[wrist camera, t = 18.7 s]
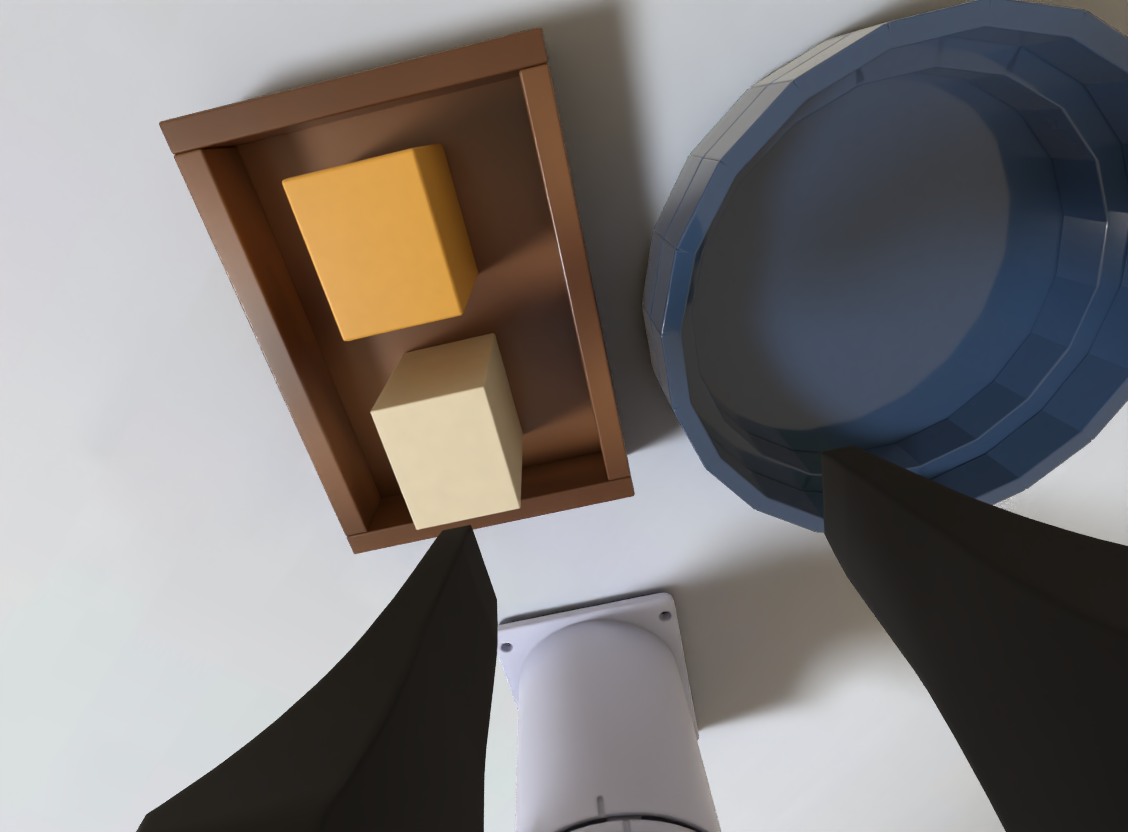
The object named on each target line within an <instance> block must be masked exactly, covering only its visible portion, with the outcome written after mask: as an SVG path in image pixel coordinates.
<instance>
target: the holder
mask: <svg viewBox="0 0 1128 832" xmlns="http://www.w3.org/2000/svg"><path fill="white" fill-rule="evenodd" d="M159 125H160V127H161V130H162V132H163V134H164V136H165V139H166V141H167V143H168V145H169V147H170V150H171V152H172V153H173V154H175V156H174V158H175V161H176V163H177V165H178V167H179V169H180V172H181V174H182V176H183V178H184V180H185V183H186V185H187V187H188V189H189V191H190V194H191V196H192V198H193V200H194V202H195V205H196V207H197V209H198V211H199V213H200V216H201V218H202V220H203V222H204V224H205V227H206V229H207V231H208V233H209V235H210V238H211V240H212V242H213V244H214V246H215V249H216V251H217V253H218V255H219V257H220V260H221V262H222V264H223V266H224V268H225V271H226V273H227V275H228V277H229V279H230V282H231V284H232V286H233V288H234V290H235V293H236V295H237V297H238V299H239V301H240V304H241V306H242V308H243V310H244V312H245V315H246V317H247V319H248V321H249V324H250V326H251V328H252V330H253V332H254V335H255V337H256V339H257V341H258V343H259V346H260V348H261V350H262V352H263V354H264V357H265V359H266V361H267V363H268V365H269V368H270V370H271V372H272V374H273V376H274V379H275V381H276V383H277V385H278V387H279V390H280V392H281V394H282V396H283V398H284V401H285V403H286V405H287V407H288V409H289V412H290V414H291V416H292V418H293V420H294V423H295V425H296V427H297V429H298V431H299V434H300V436H301V438H302V440H303V442H304V445H305V447H306V449H307V451H308V453H309V456H310V458H311V460H312V462H313V464H314V467H315V469H316V471H317V473H318V475H319V478H320V480H321V482H322V484H323V486H324V489H325V491H326V493H327V495H328V497H329V500H330V502H331V504H332V506H333V509H334V511H335V513H336V515H337V517H338V520H339V522H340V524H341V526H342V528H343V531H344V533H345V535H346V536H347V539H348V541H349V544H350V546H351V548H352V550H353V552H354V554H357V553H362V552H367V551H372V550H377V549H381V548H386V547H391V546H396V545H401V544H405V543H410V542H415V541H420V540H425V539H429V538H434V537H438V536H439V534H440V533H441V532H442V530H447V529H452V528H457V527H462V526H466V525H471V526H472V529H477V528H482V527H487V526H492V525H497V524H501V523H506V522H511V521H516V520H521V519H525V518H530V517H535V516H540V515H545V514H549V513H554V512H559V511H564V510H569V509H573V508H578V507H583V506H588V505H593V504H597V503H602V502H607V501H612V500H617V499H621V498H626V497H631V496H634V494H635V493H634V488H633V483H632V478H631V473H630V468H629V463H628V458H627V453H626V448H625V443H624V438H623V433H622V428H621V423H620V418H619V413H618V408H617V403H616V398H615V393H614V388H613V383H612V378H611V373H610V368H609V363H608V358H607V353H606V348H605V342H604V337H603V332H602V327H601V322H600V317H599V312H598V307H597V302H596V297H595V292H594V287H593V282H592V277H591V272H590V267H589V262H588V257H587V252H586V247H585V242H584V237H583V232H582V227H581V222H580V217H579V212H578V207H577V202H576V197H575V192H574V187H573V182H572V177H571V172H570V166H569V161H568V156H567V151H566V146H565V141H564V136H563V131H562V126H561V121H560V116H559V111H558V106H557V101H556V96H555V91H554V86H553V81H552V76H551V71H550V66H549V65H548V56H547V51H546V46H545V41H544V36H543V31H542V28H541V27H536V28H532V29H528V30H524V31H520V32H516V33H512V34H508V35H504V36H500V37H496V38H492V39H488V40H484V41H480V42H476V43H472V44H468V45H464V46H460V47H456V48H452V49H448V50H444V51H440V52H436V53H432V54H428V55H424V56H420V57H416V58H412V59H408V60H404V61H400V62H396V63H392V64H388V65H384V66H380V67H376V68H372V69H368V70H364V71H360V72H356V73H352V74H348V75H344V76H340V77H336V78H332V79H328V80H324V81H320V82H317V83H313V84H309V85H305V86H301V87H297V88H293V89H289V90H285V91H281V92H277V93H273V94H269V95H265V96H261V97H257V98H253V99H249V100H245V101H241V102H237V103H233V104H229V105H225V106H221V107H217V108H213V109H209V110H205V111H201V112H197V113H193V114H189V115H185V116H181V117H177V118H173V119H169V120H165V121H161V122H160V123H159ZM438 143H440V144H442V145H443V148H444V151H445V155H446V158H447V162H448V166H449V169H450V173H451V176H452V180H453V184H454V187H455V191H456V194H457V198H458V202H459V205H460V209H461V212H462V216H463V220H464V223H465V227H466V230H467V234H468V238H469V241H470V245H471V248H472V252H473V256H474V259H475V263H476V266H477V270H478V276H477V278H476V281H475V283H474V286H473V289H472V291H471V294H470V297H469V299H468V302H467V305H466V307H465V310H464V312H463V314H462V315H461V316H456V317H452V318H447V319H443V320H439V321H434V322H430V323H425V324H421V325H417V326H412V327H408V328H403V329H399V330H395V331H390V332H386V333H381V334H377V335H373V336H368V337H364V338H359V339H355V340H351V341H344V340H343V338H342V336H341V333H340V331H339V328H338V325H337V323H336V320H335V318H334V315H333V313H332V310H331V308H330V305H329V302H328V300H327V297H326V295H325V292H324V290H323V287H322V284H321V282H320V279H319V277H318V274H317V272H316V269H315V267H314V264H313V261H312V259H311V256H310V254H309V251H308V249H307V246H306V244H305V241H304V238H303V236H302V233H301V231H300V228H299V226H298V223H297V221H296V218H295V215H294V213H293V210H292V208H291V205H290V203H289V200H288V198H287V195H286V192H285V190H284V187H283V185H282V181H283V180H284V179H286V178H290V177H294V176H299V175H303V174H307V173H311V172H315V171H319V170H323V169H327V168H332V167H336V166H340V165H344V164H348V163H352V162H356V161H360V160H364V159H369V158H373V157H377V156H381V155H385V154H389V153H393V152H397V151H402V150H406V149H410V148H415V147H421V146H427V145H432V144H438ZM491 333H495V336H496V339H497V343H498V346H499V350H500V354H501V357H502V361H503V364H504V368H505V371H506V375H507V379H508V382H509V386H510V389H511V393H512V397H513V400H514V404H515V407H516V411H517V415H518V418H519V422H520V425H521V429H522V433H523V449H522V477H521V506H520V508H519V509H514V510H509V511H505V512H500V513H495V514H490V515H485V516H481V517H476V518H471V519H466V520H462V521H457V522H452V523H447V524H443V525H438V526H433V527H428V528H424V529H419V530H417V529H416V527H415V525H414V522H413V520H412V517H411V515H410V512H409V510H408V507H407V504H406V502H405V499H404V497H403V494H402V492H401V489H400V487H399V484H398V481H397V479H396V476H395V474H394V471H393V469H392V466H391V464H390V461H389V459H388V456H387V453H386V451H385V448H384V446H383V443H382V441H381V438H380V436H379V433H378V430H377V428H376V425H375V423H374V420H373V418H372V415H371V410H372V408H373V406H374V405H375V403H376V401H377V399H378V398H379V396H380V394H381V392H382V391H383V389H384V387H385V385H386V384H387V382H388V380H389V378H390V377H391V375H392V373H393V372H394V370H395V368H396V366H397V365H398V363H399V361H400V359H401V358H402V356H403V354H404V353H407V352H411V351H416V350H420V349H425V348H429V347H433V346H438V345H442V344H447V343H451V342H456V341H460V340H464V339H469V338H473V337H478V336H482V335H487V334H491Z"/></svg>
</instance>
